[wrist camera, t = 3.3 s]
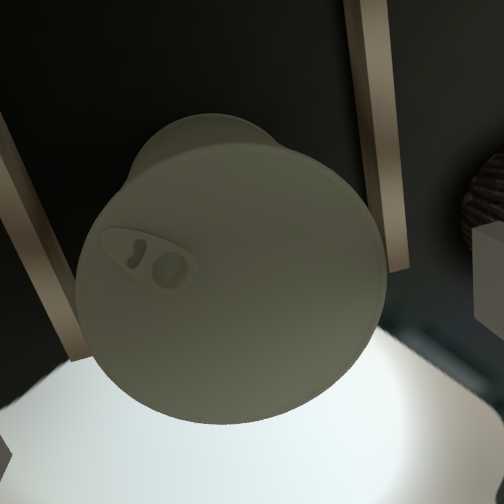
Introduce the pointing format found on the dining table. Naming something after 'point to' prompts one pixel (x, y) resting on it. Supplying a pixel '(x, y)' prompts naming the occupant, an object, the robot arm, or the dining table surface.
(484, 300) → the robot arm
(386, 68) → the guide track
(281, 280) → the can
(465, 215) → the cupcake
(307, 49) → the dining table surface
